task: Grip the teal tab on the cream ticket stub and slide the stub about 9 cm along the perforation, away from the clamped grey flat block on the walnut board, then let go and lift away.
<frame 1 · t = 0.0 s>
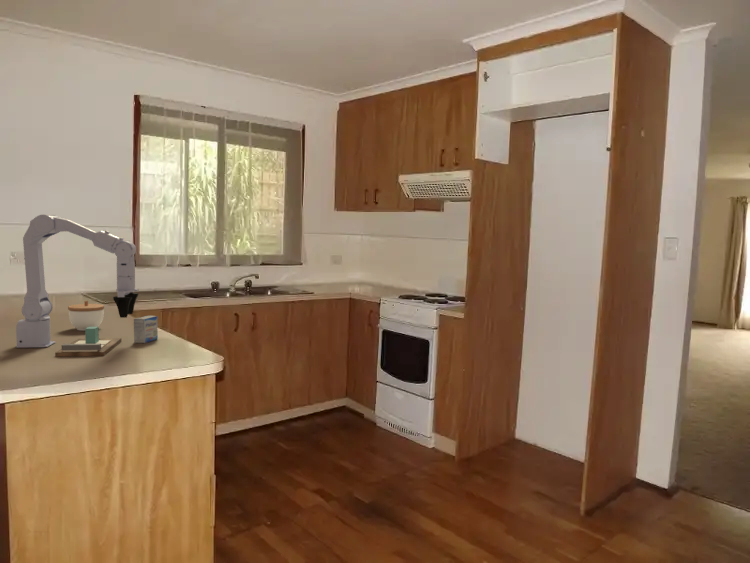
hand: (126, 315, 193), 10 cm above the counter, fingers open, 7 cm apart
medicine box: (146, 341, 201), on the counter
grey flat block: (84, 352, 181), resting on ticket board
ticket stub: (92, 335, 188), point 4 cm above the counter, slide at 0.0 cm
lidded bowl: (86, 329, 221), on the counter
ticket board: (90, 348, 187), on the counter
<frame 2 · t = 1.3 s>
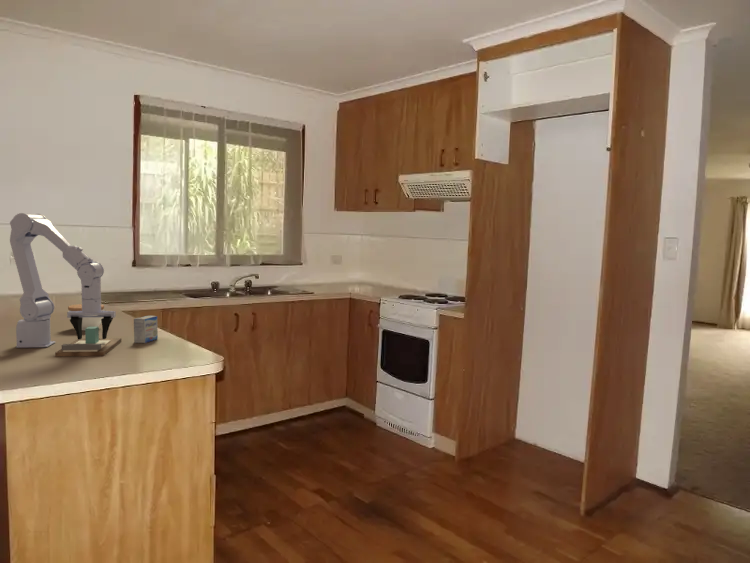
hand: (92, 338, 188), 3 cm above the counter, fingers open, 7 cm apart
nothing on the counter moved.
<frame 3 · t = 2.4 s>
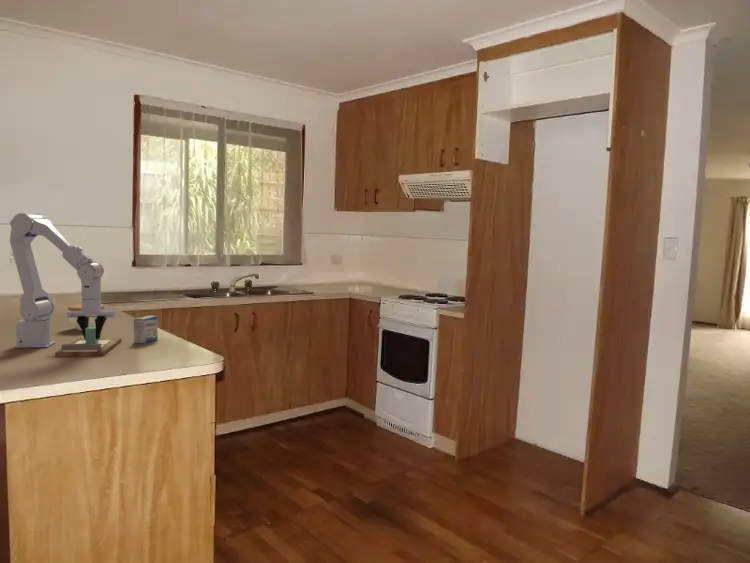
hand: (92, 338, 188), 3 cm above the counter, fingers closed on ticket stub, 3 cm apart
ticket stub: (92, 335, 188), point 4 cm above the counter, slide at 0.0 cm, touching gripper
everything else where it was.
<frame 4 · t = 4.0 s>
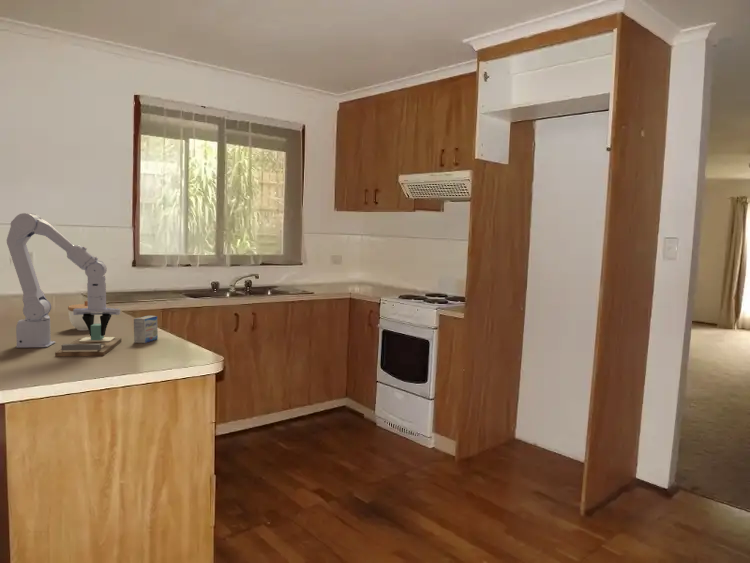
hand: (97, 335, 194), 3 cm above the counter, fingers closed on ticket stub, 3 cm apart
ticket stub: (97, 332, 194), point 4 cm above the counter, slide at 5.8 cm, touching gripper
everything else where it was.
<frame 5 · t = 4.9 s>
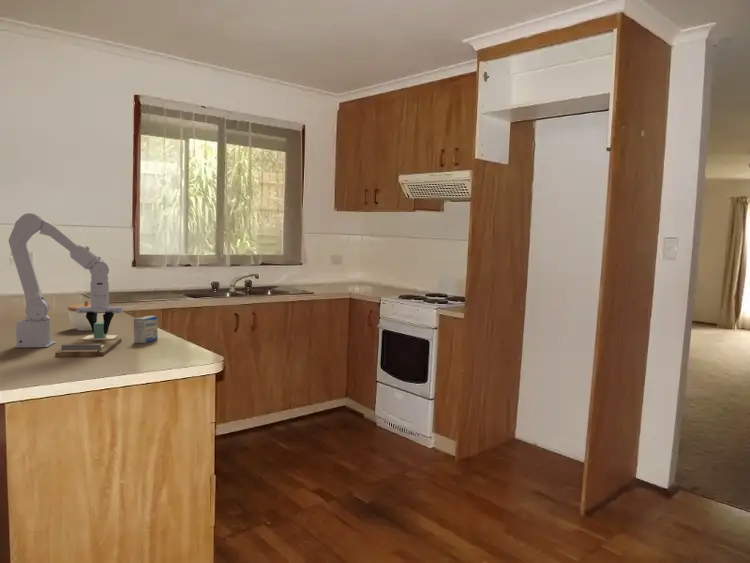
hand: (100, 333, 198), 3 cm above the counter, fingers closed on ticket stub, 3 cm apart
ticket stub: (100, 330, 197), point 4 cm above the counter, slide at 9.2 cm, touching gripper
everything else where it was.
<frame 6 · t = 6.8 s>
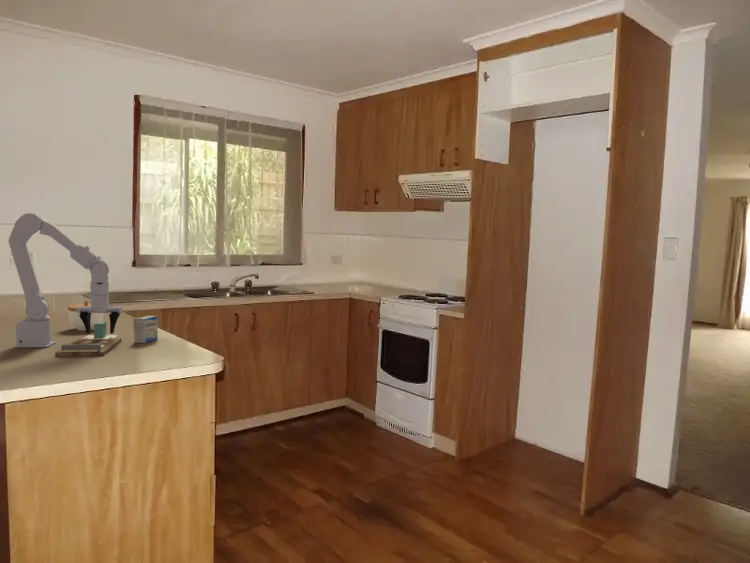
hand: (100, 333, 198), 3 cm above the counter, fingers open, 7 cm apart
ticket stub: (100, 330, 197), point 4 cm above the counter, slide at 9.2 cm
everything else where it was.
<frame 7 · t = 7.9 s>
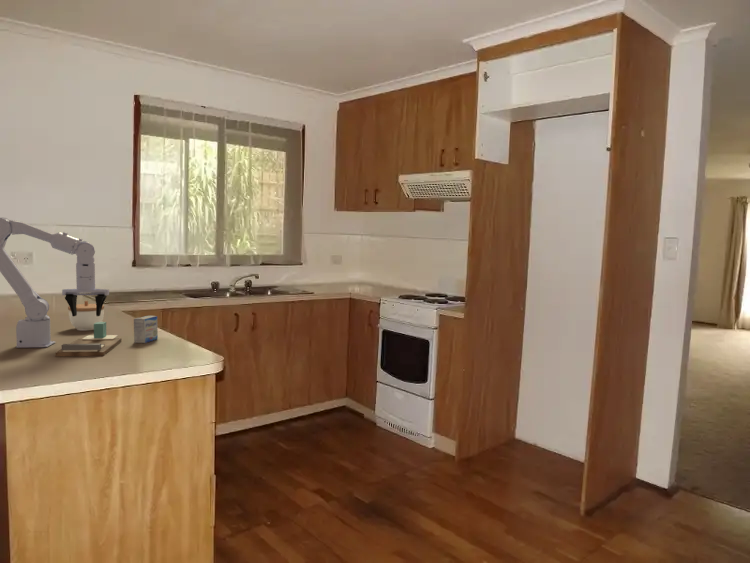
hand: (86, 315, 195), 9 cm above the counter, fingers open, 7 cm apart
nothing on the counter moved.
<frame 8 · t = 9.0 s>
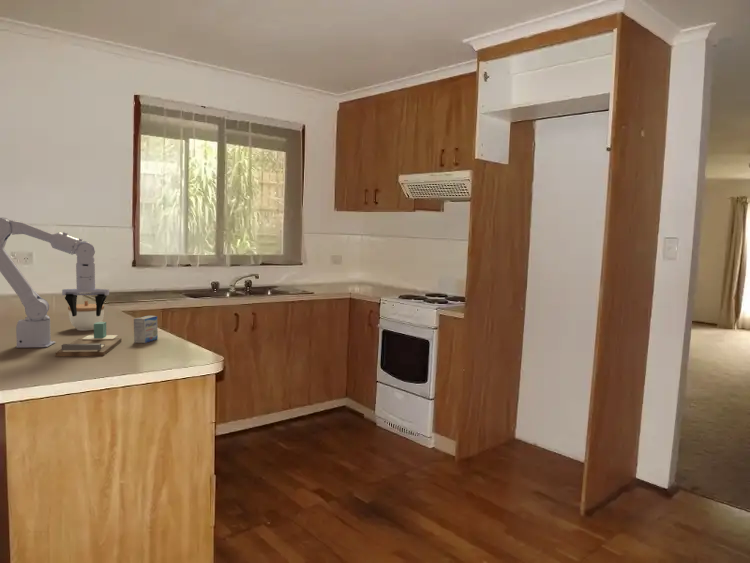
hand: (86, 315, 195), 9 cm above the counter, fingers open, 7 cm apart
nothing on the counter moved.
at the end: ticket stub slide at 9.2 cm; the gripper is holding nothing; medicine box moved 0.3 cm from its start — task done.
